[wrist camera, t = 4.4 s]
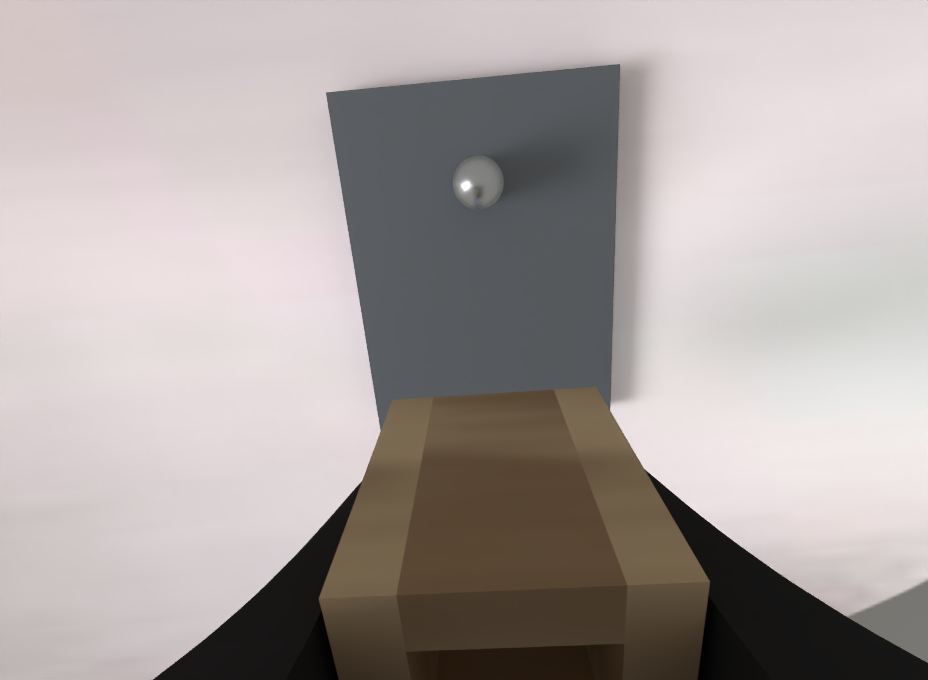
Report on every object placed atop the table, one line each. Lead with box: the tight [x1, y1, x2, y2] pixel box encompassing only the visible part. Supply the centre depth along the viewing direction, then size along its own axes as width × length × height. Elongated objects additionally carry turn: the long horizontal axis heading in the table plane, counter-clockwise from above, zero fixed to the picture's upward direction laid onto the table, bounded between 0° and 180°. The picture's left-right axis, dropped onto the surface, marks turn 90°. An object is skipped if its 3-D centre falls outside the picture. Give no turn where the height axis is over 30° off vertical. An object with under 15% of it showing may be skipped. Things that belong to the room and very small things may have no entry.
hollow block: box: [319, 387, 710, 680], centre depth 8 cm, size 4×4×5 cm
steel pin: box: [453, 156, 504, 209], centre depth 14 cm, size 1×1×2 cm
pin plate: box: [326, 64, 620, 429], centre depth 16 cm, size 12×9×1 cm
